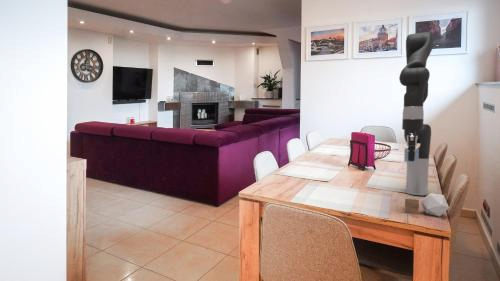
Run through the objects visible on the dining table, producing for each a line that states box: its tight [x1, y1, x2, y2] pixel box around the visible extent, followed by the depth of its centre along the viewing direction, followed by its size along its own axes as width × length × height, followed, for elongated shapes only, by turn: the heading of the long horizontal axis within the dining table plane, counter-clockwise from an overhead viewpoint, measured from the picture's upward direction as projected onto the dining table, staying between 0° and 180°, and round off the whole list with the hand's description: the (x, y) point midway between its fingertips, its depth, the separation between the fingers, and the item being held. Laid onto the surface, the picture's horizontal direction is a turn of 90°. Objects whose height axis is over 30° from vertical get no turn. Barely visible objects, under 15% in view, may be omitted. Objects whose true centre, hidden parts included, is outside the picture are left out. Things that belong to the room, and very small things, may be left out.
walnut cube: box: [404, 198, 420, 215], centre depth 130 cm, size 5×5×5 cm
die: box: [420, 192, 450, 217], centre depth 127 cm, size 8×9×10 cm
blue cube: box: [403, 147, 419, 163], centre depth 129 cm, size 5×5×5 cm
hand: (411, 160), depth 129 cm, fingers closed on blue cube, 5 cm apart
